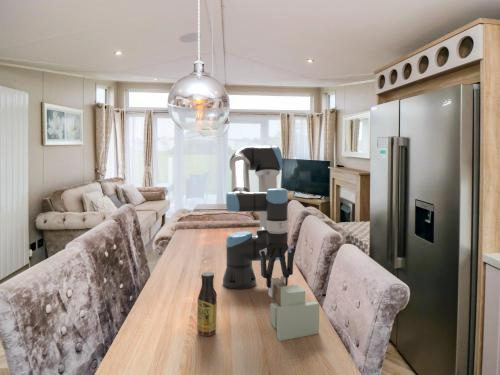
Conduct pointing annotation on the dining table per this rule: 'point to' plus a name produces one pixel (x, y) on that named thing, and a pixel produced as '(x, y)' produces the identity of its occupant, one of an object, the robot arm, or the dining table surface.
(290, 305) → the pale green block
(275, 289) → the brown boxy piece
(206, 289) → the sauce bottle
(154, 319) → the dining table surface
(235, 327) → the dining table surface
